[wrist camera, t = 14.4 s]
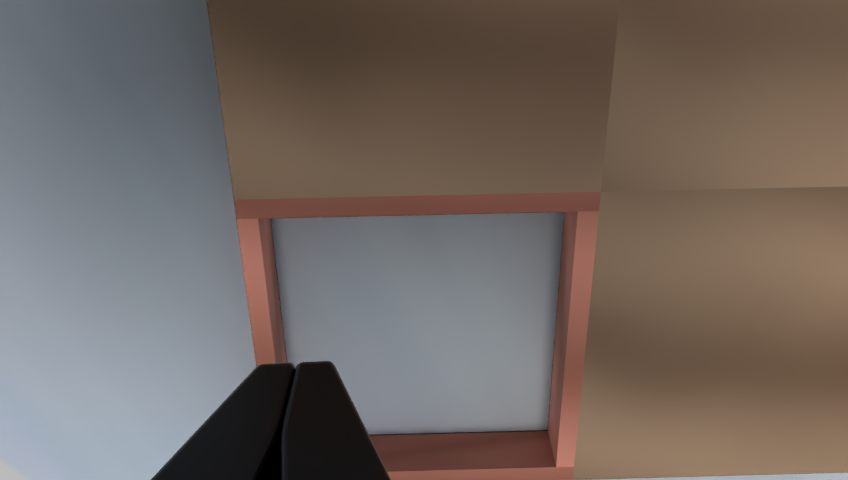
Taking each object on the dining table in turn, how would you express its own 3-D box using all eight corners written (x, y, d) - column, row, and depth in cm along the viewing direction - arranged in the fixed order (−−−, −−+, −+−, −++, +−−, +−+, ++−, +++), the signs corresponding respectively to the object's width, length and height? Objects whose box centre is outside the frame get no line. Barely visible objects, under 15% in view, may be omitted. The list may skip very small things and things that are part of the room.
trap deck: (190, -252, 16) (171, -258, 14) (1474, -269, 16) (1570, -277, 15) (280, 450, 24) (273, 488, 23) (1120, 428, 25) (1161, 464, 23)
